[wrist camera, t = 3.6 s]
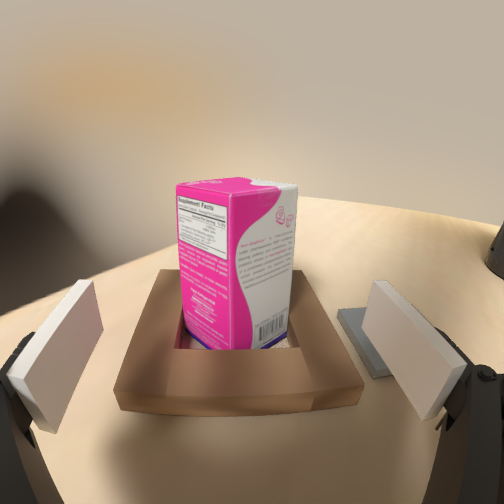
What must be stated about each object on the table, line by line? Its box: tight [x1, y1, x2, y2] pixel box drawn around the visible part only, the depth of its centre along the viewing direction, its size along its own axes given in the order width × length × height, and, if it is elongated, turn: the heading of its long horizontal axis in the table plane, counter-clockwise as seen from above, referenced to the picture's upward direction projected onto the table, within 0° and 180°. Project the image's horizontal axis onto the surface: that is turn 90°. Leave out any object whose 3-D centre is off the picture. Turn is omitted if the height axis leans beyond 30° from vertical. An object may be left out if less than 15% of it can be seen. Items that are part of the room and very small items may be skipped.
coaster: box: [337, 304, 434, 378], centre depth 22 cm, size 8×8×1 cm
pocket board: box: [113, 269, 365, 416], centre depth 22 cm, size 14×16×2 cm
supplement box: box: [176, 177, 298, 350], centre depth 20 cm, size 6×6×12 cm
